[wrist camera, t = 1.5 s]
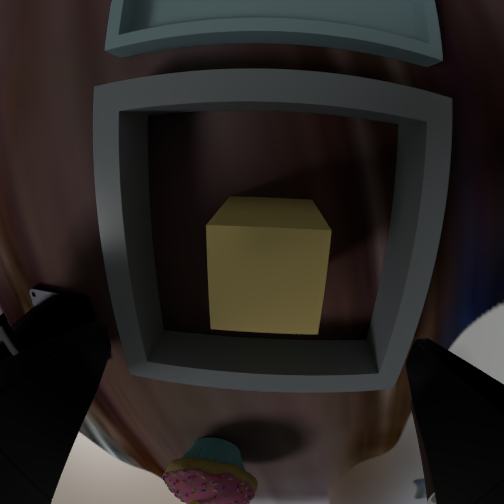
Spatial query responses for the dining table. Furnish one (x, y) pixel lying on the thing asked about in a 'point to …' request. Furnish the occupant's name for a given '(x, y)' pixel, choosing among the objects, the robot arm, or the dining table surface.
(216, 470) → the cupcake
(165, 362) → the bin
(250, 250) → the block
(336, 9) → the tray
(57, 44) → the dining table surface
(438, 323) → the dining table surface
